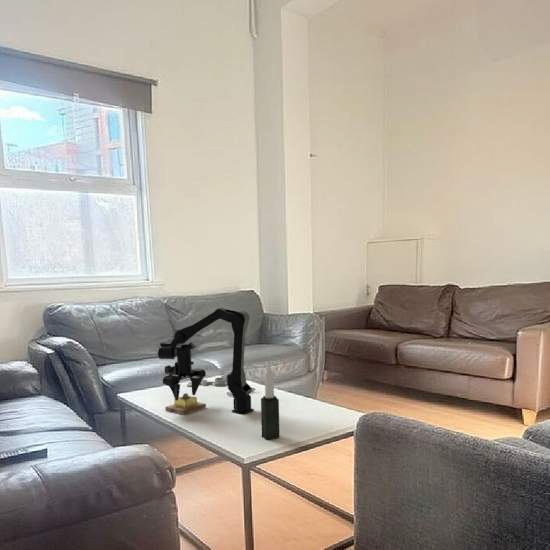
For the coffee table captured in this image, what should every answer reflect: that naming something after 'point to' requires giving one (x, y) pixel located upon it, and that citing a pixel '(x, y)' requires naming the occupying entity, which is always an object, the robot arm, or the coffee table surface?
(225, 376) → the pulley system
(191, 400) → the brass square frame
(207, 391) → the coffee table surface
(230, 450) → the coffee table surface
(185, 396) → the brown base plate
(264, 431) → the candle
